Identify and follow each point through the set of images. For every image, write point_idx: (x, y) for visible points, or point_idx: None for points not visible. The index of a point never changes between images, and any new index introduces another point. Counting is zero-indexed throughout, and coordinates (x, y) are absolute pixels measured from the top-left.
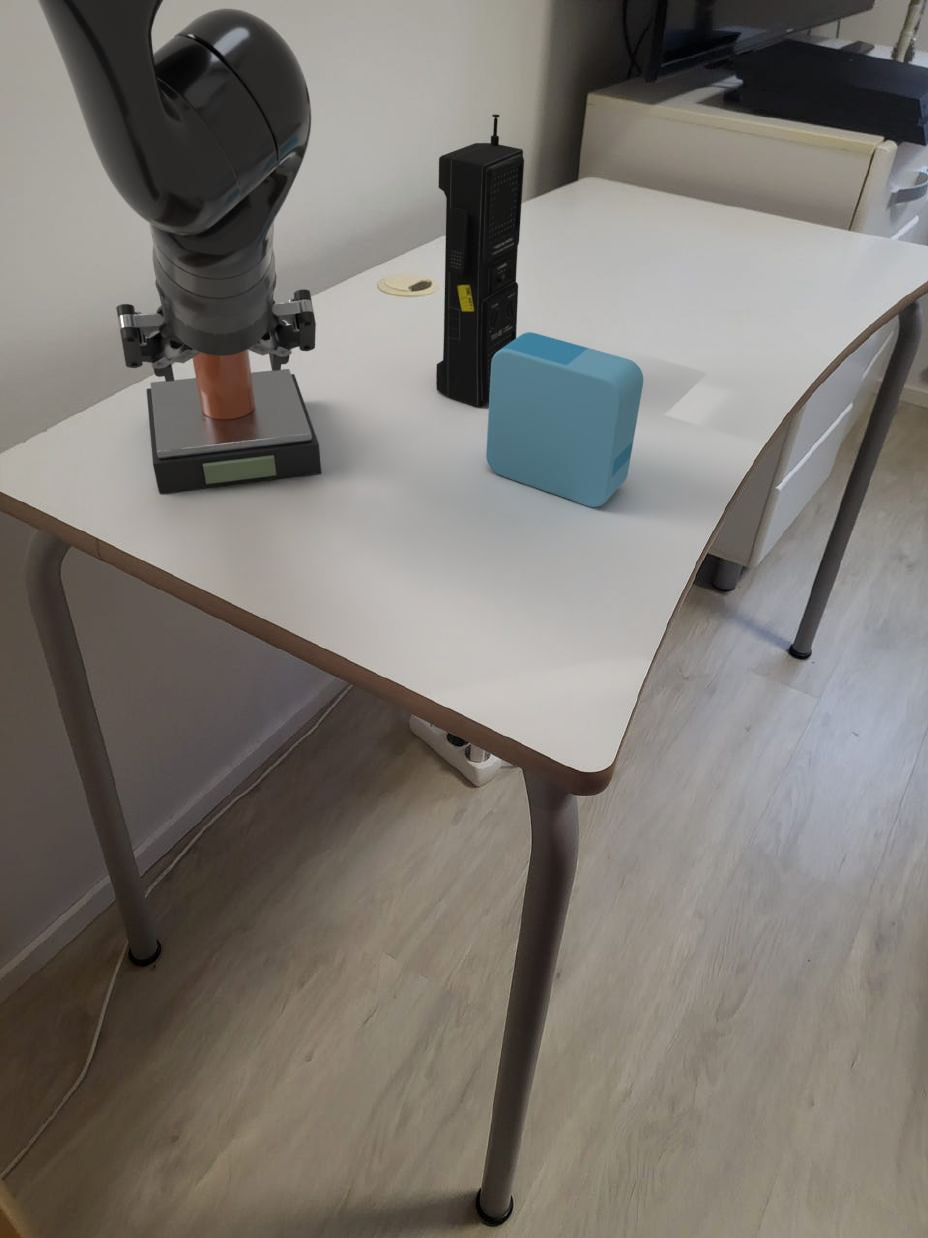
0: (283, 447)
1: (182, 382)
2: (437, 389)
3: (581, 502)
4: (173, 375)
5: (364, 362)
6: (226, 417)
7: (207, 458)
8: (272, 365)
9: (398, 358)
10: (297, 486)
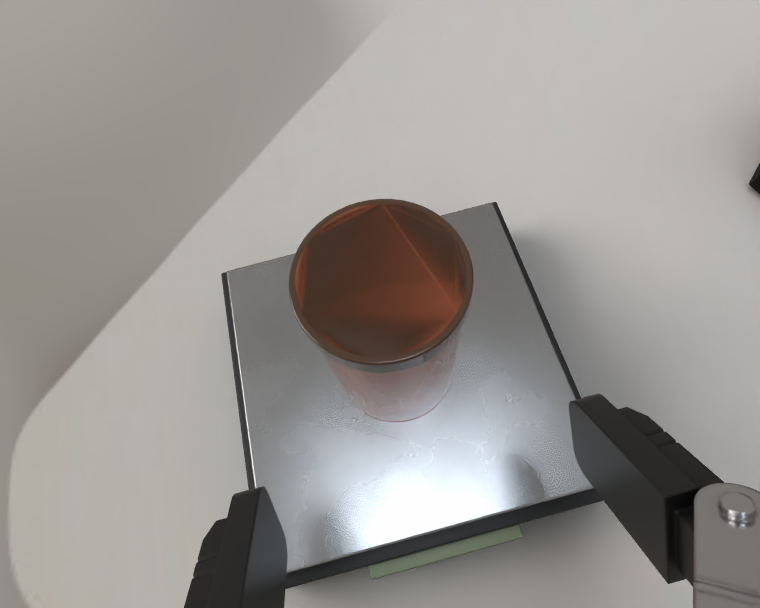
0: (543, 511)
1: (287, 268)
2: (753, 186)
3: None
4: (282, 548)
5: (581, 104)
6: (401, 420)
7: (378, 562)
8: (601, 493)
9: (638, 87)
10: (559, 551)
